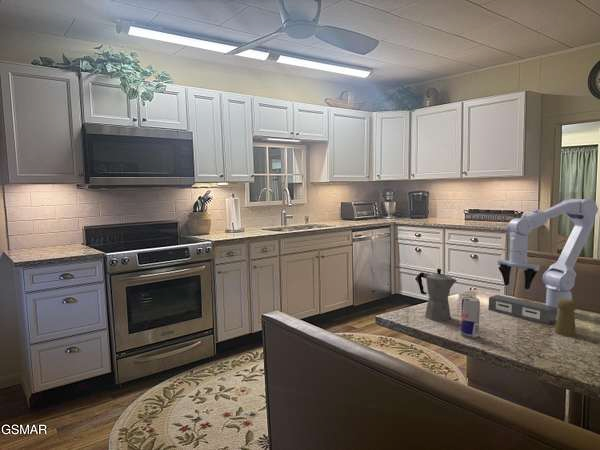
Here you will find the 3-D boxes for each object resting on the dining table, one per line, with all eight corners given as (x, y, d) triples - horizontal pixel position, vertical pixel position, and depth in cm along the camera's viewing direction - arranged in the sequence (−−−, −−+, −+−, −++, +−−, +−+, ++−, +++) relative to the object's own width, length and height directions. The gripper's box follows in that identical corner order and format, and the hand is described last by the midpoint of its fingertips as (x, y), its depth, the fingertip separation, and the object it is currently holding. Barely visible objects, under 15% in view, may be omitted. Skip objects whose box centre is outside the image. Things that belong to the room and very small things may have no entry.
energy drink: (457, 332, 136) (459, 296, 135) (473, 332, 137) (474, 296, 136) (465, 338, 131) (466, 301, 130) (481, 338, 132) (483, 300, 131)
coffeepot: (460, 318, 152) (462, 269, 150) (448, 324, 145) (450, 273, 144) (422, 309, 163) (423, 264, 161) (409, 314, 156) (410, 267, 155)
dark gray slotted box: (496, 307, 166) (497, 294, 165) (556, 321, 148) (557, 307, 148) (488, 309, 162) (488, 297, 162) (548, 324, 144) (549, 310, 144)
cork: (579, 336, 133) (581, 303, 132) (559, 335, 134) (561, 302, 133) (570, 330, 139) (572, 298, 138) (551, 329, 140) (552, 297, 139)
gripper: (493, 249, 158) (492, 284, 159) (533, 254, 147) (531, 292, 148) (503, 247, 162) (502, 282, 164) (542, 252, 151) (541, 289, 152)
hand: (516, 286), depth 156 cm, fingers open, 7 cm apart
